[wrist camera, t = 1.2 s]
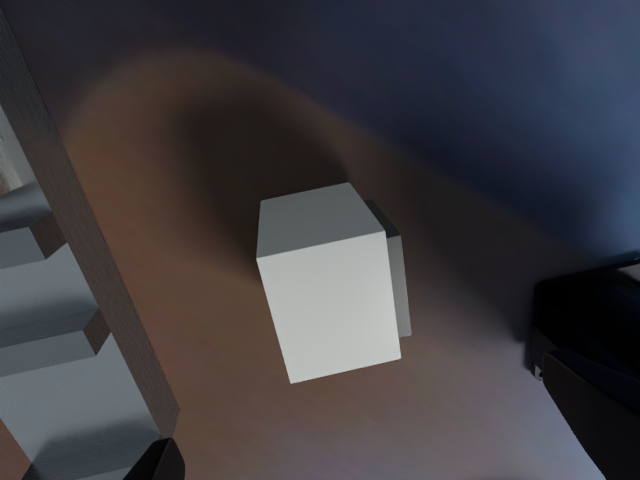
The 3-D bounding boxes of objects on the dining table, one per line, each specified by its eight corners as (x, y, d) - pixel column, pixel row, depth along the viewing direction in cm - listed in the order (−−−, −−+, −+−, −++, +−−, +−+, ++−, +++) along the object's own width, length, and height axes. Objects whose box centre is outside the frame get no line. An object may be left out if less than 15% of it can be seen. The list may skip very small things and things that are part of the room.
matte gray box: (260, 200, 17) (256, 258, 12) (362, 179, 17) (404, 226, 12) (284, 296, 19) (290, 383, 14) (375, 276, 19) (417, 354, 14)
